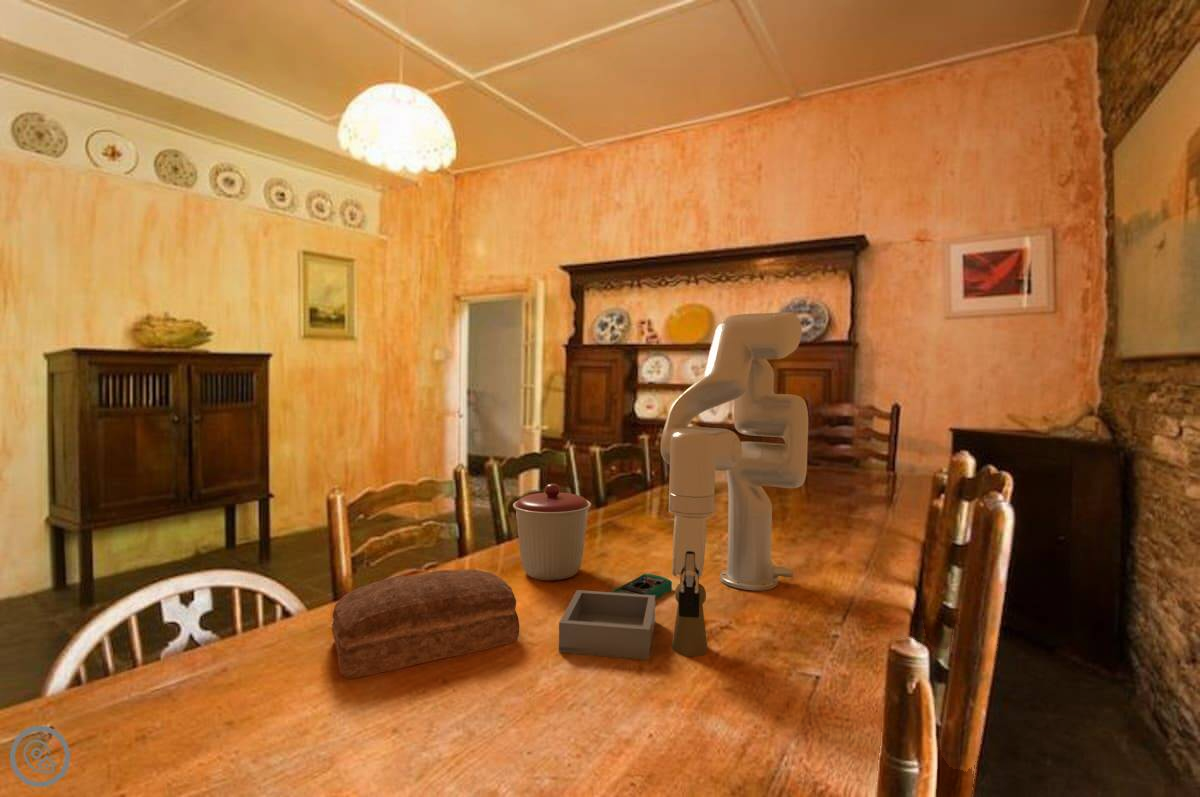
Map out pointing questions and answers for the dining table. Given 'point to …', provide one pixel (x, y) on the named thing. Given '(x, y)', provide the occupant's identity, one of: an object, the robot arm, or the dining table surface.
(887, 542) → the dining table surface
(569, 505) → the canister
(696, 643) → the tan piece
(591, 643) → the gray square tray
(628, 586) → the digital multimeter
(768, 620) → the dining table surface
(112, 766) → the dining table surface
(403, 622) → the bread
